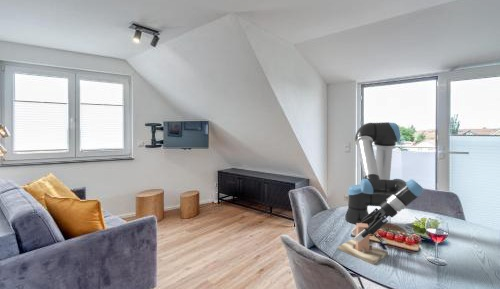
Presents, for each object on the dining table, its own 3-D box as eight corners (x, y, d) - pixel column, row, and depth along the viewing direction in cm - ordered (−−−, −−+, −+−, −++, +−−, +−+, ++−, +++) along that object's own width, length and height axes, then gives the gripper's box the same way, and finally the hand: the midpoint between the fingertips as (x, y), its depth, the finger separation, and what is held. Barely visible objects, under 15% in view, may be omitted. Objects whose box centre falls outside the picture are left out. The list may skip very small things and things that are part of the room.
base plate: (352, 241, 134) (353, 235, 134) (387, 254, 120) (388, 247, 120) (337, 249, 126) (337, 242, 126) (373, 264, 112) (373, 256, 111)
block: (355, 246, 126) (356, 222, 125) (366, 247, 125) (367, 223, 124) (357, 250, 121) (358, 226, 120) (369, 251, 120) (369, 227, 119)
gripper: (406, 219, 108) (365, 252, 113) (390, 205, 128) (356, 233, 133) (392, 206, 109) (352, 239, 114) (379, 194, 129) (346, 223, 134)
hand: (354, 236), depth 123 cm, fingers open, 7 cm apart
